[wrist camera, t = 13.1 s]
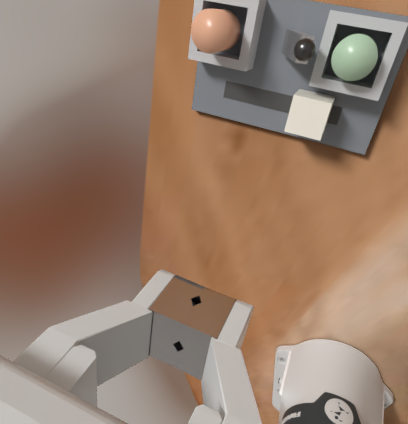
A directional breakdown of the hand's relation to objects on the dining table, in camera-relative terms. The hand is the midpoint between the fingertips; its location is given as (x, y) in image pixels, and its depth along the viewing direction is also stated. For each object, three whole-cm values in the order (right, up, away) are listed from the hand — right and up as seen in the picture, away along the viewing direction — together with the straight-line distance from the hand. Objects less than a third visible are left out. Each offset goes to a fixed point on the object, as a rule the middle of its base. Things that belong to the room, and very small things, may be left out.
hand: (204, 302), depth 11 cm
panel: (+10, +19, +31) cm, 37 cm away
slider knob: (+12, +14, +30) cm, 36 cm away
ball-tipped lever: (+9, +21, +28) cm, 36 cm away
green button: (+15, +19, +26) cm, 36 cm away
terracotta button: (+2, +22, +28) cm, 36 cm away
